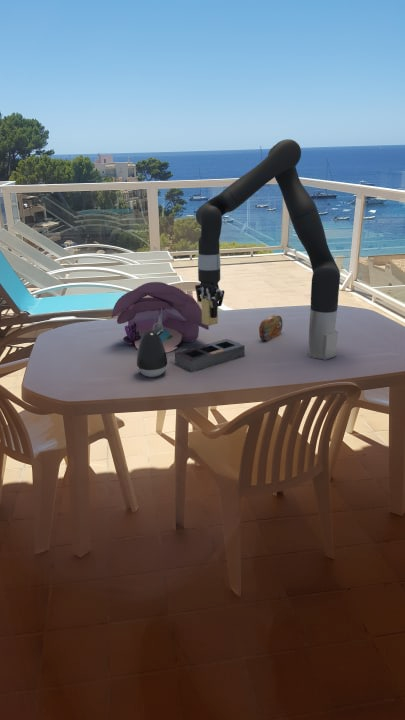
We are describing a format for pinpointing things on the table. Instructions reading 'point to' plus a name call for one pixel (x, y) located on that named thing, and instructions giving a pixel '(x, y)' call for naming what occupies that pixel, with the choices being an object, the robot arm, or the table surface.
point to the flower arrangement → (159, 314)
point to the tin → (270, 327)
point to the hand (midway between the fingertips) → (209, 315)
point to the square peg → (208, 312)
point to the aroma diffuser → (151, 354)
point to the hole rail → (209, 354)
